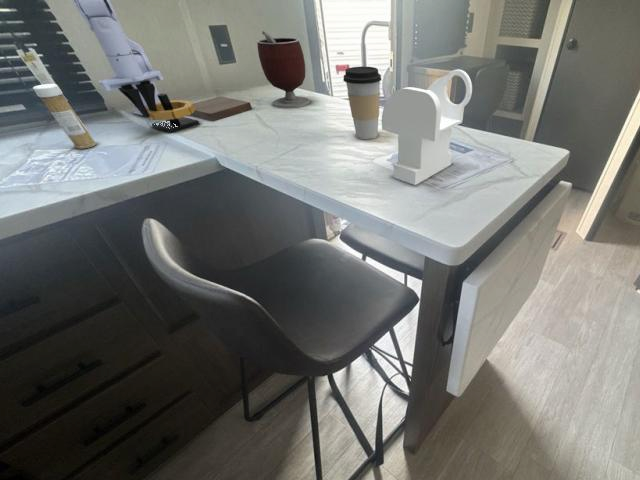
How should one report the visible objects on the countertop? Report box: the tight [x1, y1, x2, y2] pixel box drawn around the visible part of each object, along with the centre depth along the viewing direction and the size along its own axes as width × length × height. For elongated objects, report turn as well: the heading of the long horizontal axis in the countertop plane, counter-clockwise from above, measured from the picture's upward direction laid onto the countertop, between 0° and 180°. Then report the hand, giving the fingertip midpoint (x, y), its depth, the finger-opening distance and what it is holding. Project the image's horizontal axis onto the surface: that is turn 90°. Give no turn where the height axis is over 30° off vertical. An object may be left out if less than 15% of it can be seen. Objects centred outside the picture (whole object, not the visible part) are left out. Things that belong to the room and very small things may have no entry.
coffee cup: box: [343, 66, 382, 140], centre depth 81 cm, size 9×9×15 cm
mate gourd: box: [256, 30, 310, 109], centre depth 102 cm, size 16×14×20 cm
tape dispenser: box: [381, 68, 473, 186], centre depth 64 cm, size 14×13×18 cm
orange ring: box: [144, 99, 196, 121], centre depth 90 cm, size 13×13×2 cm
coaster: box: [190, 95, 253, 122], centre depth 103 cm, size 15×15×2 cm
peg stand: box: [151, 93, 200, 134], centre depth 90 cm, size 9×9×8 cm
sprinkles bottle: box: [32, 83, 97, 150], centre depth 77 cm, size 5×5×14 cm
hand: (151, 115), depth 87 cm, fingers closed on orange ring, 2 cm apart
